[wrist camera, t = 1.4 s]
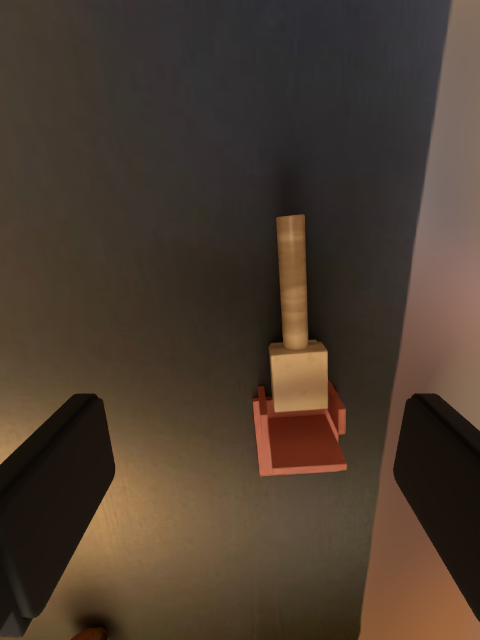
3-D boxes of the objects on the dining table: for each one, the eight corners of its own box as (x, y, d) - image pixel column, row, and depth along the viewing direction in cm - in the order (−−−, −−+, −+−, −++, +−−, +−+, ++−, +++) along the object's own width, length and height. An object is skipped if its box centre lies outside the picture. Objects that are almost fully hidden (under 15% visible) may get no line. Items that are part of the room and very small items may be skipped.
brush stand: (251, 386, 27) (253, 434, 21) (336, 380, 27) (364, 427, 20) (259, 471, 30) (263, 535, 24) (336, 466, 30) (360, 530, 23)
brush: (258, 219, 22) (260, 218, 19) (316, 213, 22) (327, 211, 19) (271, 393, 26) (274, 412, 23) (319, 389, 26) (328, 409, 23)
